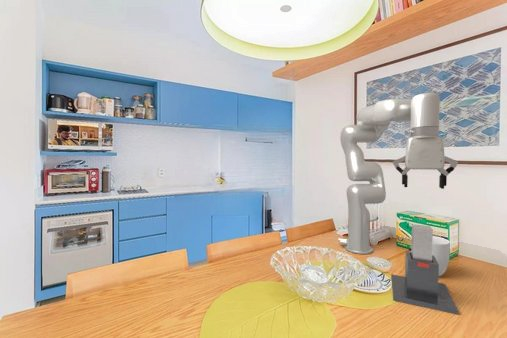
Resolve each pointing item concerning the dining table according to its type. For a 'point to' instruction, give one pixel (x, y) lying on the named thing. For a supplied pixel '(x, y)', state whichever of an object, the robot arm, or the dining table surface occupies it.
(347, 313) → the dining table surface
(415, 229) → the post
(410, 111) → the robot arm
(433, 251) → the mug
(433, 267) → the stand
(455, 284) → the dining table surface
